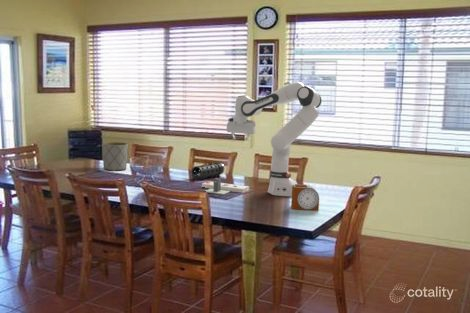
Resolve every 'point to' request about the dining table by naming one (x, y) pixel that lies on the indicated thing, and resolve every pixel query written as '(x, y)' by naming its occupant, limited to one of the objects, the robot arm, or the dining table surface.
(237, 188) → the socket bar
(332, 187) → the dining table surface
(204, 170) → the muzzle brake
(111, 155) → the planter
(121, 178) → the dining table surface
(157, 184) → the dining table surface
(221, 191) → the mat
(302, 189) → the alarm clock
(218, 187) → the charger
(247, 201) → the dining table surface
